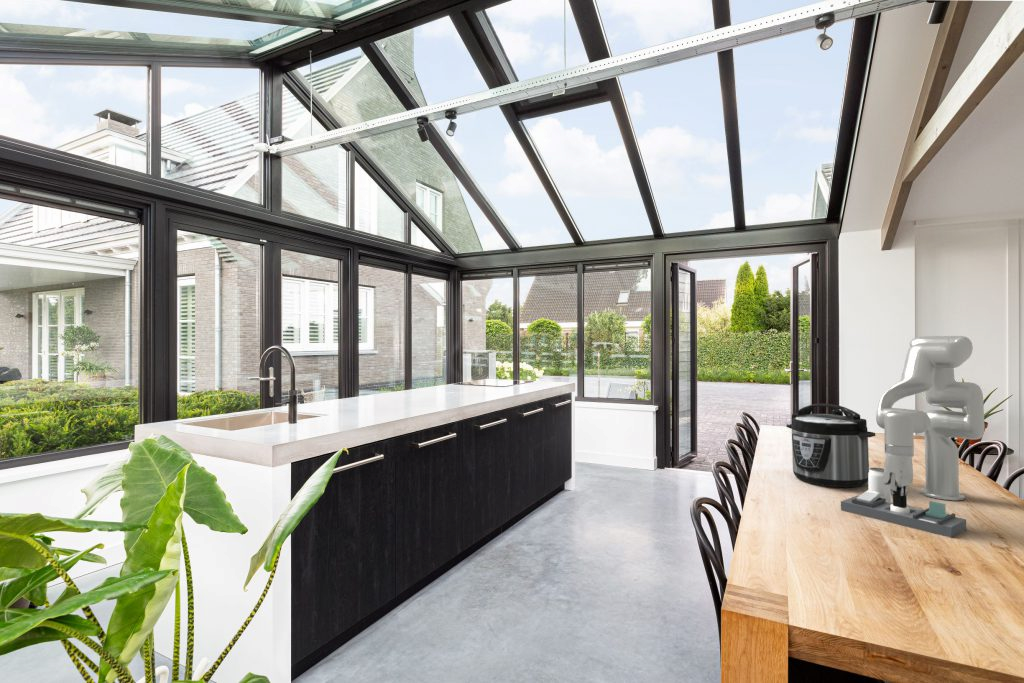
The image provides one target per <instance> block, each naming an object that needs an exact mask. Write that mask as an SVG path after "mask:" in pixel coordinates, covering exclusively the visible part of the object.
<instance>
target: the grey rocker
mask: <svg viewBox="0 0 1024 683" xmlns="http://www.w3.org/2000/svg"><path fill="white" fill-rule="evenodd" d="M858 496H859V497H857V498H856V499H857V500H858V501H862V502H867V503H873V502H874V501H875V500H877V499H878V498H879V497H881V493H879V492H875V491H870V490H869V489H867V490H865V491H864V492H863V493H861V494H860V495H858Z"/></svg>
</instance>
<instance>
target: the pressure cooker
mask: <svg viewBox="0 0 1024 683" xmlns="http://www.w3.org/2000/svg"><path fill="white" fill-rule="evenodd" d="M815 407H817V408H819V407H827V408H831V409H833V410H832V411H831V413H812V412H813V411H814V409H815ZM867 422H868V421H867V419H866V418H861V415H860V414H859V413H858V412H856V411H854V410H852V409H850V408H847V407H845V406H843V405H839V404H834V403H833V404H832V403H814V404H810V405H809V404H808V405H805V406H803V407H801V408H799V409H797V412H796V413H792V414H791V423H788V424H786V428H787V429H790V432H791V456H792V457H791V460H792V472H793V475H794V476H795V477H796V478H797V479H799V480H801V481H803V482H806V483H809V484H813V485H819V486H828V487H837V488H838V487H839V488H853V487H854V488H856V487H862V486H863V485H865V484H868V473H869V471H870V462H869V457H870V456H869V438H873V437H876V433H875V432H873V431H869V430H868V426H867V425H868V424H867Z"/></svg>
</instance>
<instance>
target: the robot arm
mask: <svg viewBox="0 0 1024 683" xmlns="http://www.w3.org/2000/svg"><path fill="white" fill-rule="evenodd" d="M973 351H974V350H973V343H972V340H971V339H970V338H968V337H967V336H964V335H963V336H962V335H941V336H940V335H927V336H918V337H914V338H912V339H911V340H910V343H909V348H908V350H907V353H906V355H905V356H906V358H905V361H904V366H903V370H902V373H901V376H900V377H901V379H900V380H899V381H898V382H896V383H895V384H893V385H892V386H890V387H889V388H888V389H887V390H886V391H885V392H884V393H883V394H882V395H881V397H880V399H879V402H878V407H877V410H876V413H875V414H876V416H875V420H876V424H877V425H878V427H879V428H881V429H883V430H884V454H885V458H884V463H883V464H884V467H883V469H884V484H886V485H888V484H890V490H891V494H892V503H893V506H896V507H901V508H905V507H907V506H908V504H907V503H908V502H907V500H908V499H907V497H908V496H907V495H908V488H909V485H911V484H912V483H913V480H914V467H913V457H915V453H914V451H915V450H914V449H915V447H914V446H915V445H914V444H915V443H914V437H915V436H914V434H922V433H923V437H924V460H925V462H924V464H925V465H924V466H925V470H924V471H925V487H923V488H921V489H920V491H919V492H920V494H921V495H923V496H926V497H928V498H933V499H938V500H945V501H963V500H965V497H966V496H965V494H963V493H962V492H960V478H959V477H960V473H959V472H960V471H959V470H960V469H959V468H960V467H959V466H960V463H959V460H960V459H959V454H960V453H959V448H958V447H957V444H956V443H955V442H954V441H953V440H952V439H951V438H955V439H964V440H979V439H982V438H983V436H984V433H985V409H984V408H985V407H984V406H985V404H984V394H983V390H982V388H981V386H980V385H979V384H977V383H974V382H970V381H969V382H965V381H956V380H955V370H954V369H955V368H958V367H960V366H962V365H963V364H964V363H965V362H966V361H967V360H969V359H970V358H971V355H972V353H973ZM921 393H925V400H926V402H927V404H928V405H930V406H933V407H939V408H940V407H941V408H948V409H949V408H951V409H962V410H964V411H955V410H944V409H943V410H942V409H931V410H927V411H922V410H919V409H907V408H897V407H893V406H894V405H895V403H896V402H899V400H901V399H904V398H907V397H911V396H914V395H917V394H921Z"/></svg>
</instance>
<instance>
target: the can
mask: <svg viewBox="0 0 1024 683" xmlns="http://www.w3.org/2000/svg"><path fill="white" fill-rule="evenodd" d="M867 484H868V490H870V491H875V492H879V493H881V497H879V498H884V499H886V502H890V503H892V490H890V484H888V485H886V484H884V467H883V468H882V467H869V473H868V482H867Z"/></svg>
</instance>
